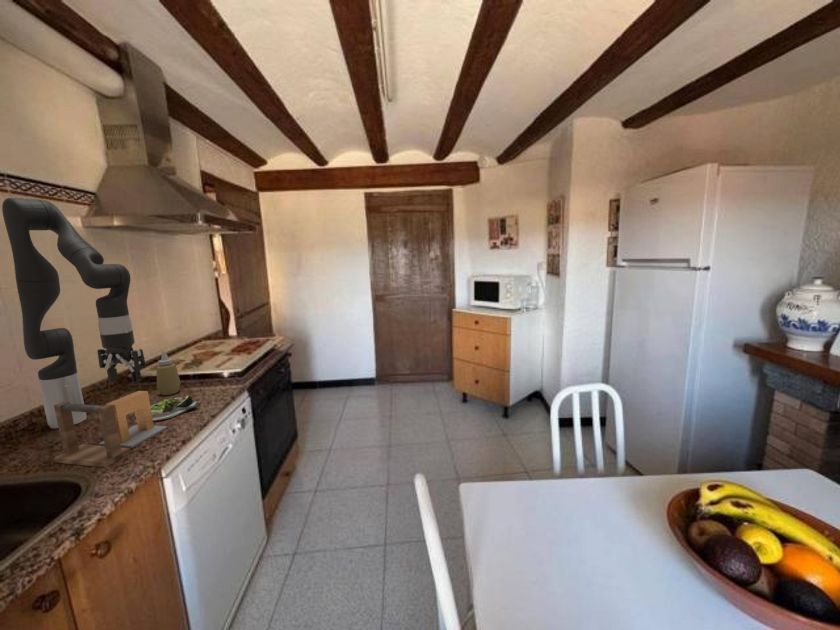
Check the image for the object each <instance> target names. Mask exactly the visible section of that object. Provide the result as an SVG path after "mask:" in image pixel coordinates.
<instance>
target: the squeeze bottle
mask: <svg viewBox="0 0 840 630" xmlns="http://www.w3.org/2000/svg"><path fill="white" fill-rule="evenodd" d="M160 358H161V359H160V360H158V361H157V362H158V365H157V367H156V370H155V371H156V388H157V389H158V391H159V393H160V395H162V396H170V395H173V394H174V395H175V394H176V393H177V394H178V393H179V391H180V386H181V380H180V375H179V372H178V369H177V365H176V363H173V359H172V358H169V357H168V354H167V352H166V351H162V352H161V357H160Z"/></svg>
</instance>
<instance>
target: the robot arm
mask: <svg viewBox="0 0 840 630" xmlns="http://www.w3.org/2000/svg"><path fill="white" fill-rule="evenodd" d="M1 207H2V208H1V211H2V217H3V222H4V225H5V229H6V233H7V236H8V240H9V244H10V247H11V253H12V258H13V265H14V275H15V282H16V283H15V284H16V289H17V293H18V298H19V299H18V300H19V304H20V308H21V315H22V333H23V335H22V336H23V345H24V350H25V351H24V352H25V353H26V355H27V357H28V358H29V359H31V360H43V359H48V358H54V357H58V358H57V359H56V360H55V361H53V362H52V363H51V364H48V365H47V366H44V367H43V368H41V369H39V370H38V372H37V377H38V381H39V384H40V389H41V394H42V398H43V399H42V404H43V409H44V414H45V417H46V422H47V426H48V427H49V428H50V429H59V427H58V423H57V418H56V413H55V409H54V405H56V404H59V403H62V402H69V403H70V404H82V405H85V403H84V397H83V392H82V387H81V383H80V378H79V374H78V369H77V359H76V354H75V347H74V346H75V345H74V339H73V336H72V333H71V332H70V330H69V329H67V328H65V327H58V328H50V329H43V330H41V326H42V323H43V319H44V317H45V315H46V314H47V313H48V311H49V310H50V308H51V307H53V305H54V303H55V302H56V301H57V300H58V298H59V296H60V294H61V283H60V276H59V272H58V270H57V269H56V267H55V266H53V264H52V263H51V262H50V261H48V259H47V258H45V257H44V256H43V255H42V254H41V253H40V252H39V250H38V249H37V248H36V247H35V245H34V242H33V240H32V238H31V232H30V231H51V232H54V233H55V234H56V235H58V236H57V243H56V247H57V250H58V252H59V253H60V254H61V256H62V257H63V258H64V259H66V261H68V262H69V263H70V264H71V265H72V266H74V267H75V269H76V270H77V272H78V275H79V277H80V278H81V280H82V283H83V284H84V285H86V286H87V287H88V288H91V289H95V290H103V289H109V292H108V293H107V295H104V296H100V297H99V298H97V299H96V300H95V308H96V312H97V317H98V318H97V319H98V321H97V323H98V324H97V325H98V331H99V337H100V341H101V347H102V348H99V349H97V357H98V358H97V359H98V366H99V368H100V369H104V370H105V371H106V373H107V379H108V381H109V382H116V381H118V380H119V375H118V369H117V368H116V367H117V366H118V364H120V365H123V366H124V367H126V368H128V370H130V377H131V383H132V384H137V383H140V382H141V381H142V375H141V370H142V369H144V368H146V367H147V364H146V360H145V356H144V350H143V349H142V348H139V349H136V350H135V349H134V348H133V345H134V344H135V336H134V329H133V324H132V320H131V318H130V313H129V308H128V305H129V304H128V297H129V291H130V290H129V289H130V284H131V274H130V271H129V270H128V268H127V267H126V266H125V265H123V264H120V263H104V261H105V258H104V256H103V255H102V254H101V253H100V252H99V251H98V250H97V249H95V247H93V246H92V245H91V244H90V243H88V241H86V240H85V239H84V238H83V236H81V235H80V234H79V233H78V231H77V230H76V228H74V226H73V225H72V224H71V222H70V220H68V218H67V217H66V216H65V215H64V214H63V212H62V211H61V210H60V208H58V206H57V205H56V204H54V203H52V201H48V200H45V199H37V198H35V199H34V198H24V197H23V198H22V197H21V198H20V197H7V198H5V199H3V202H2V205H1ZM71 412H72V417H73V422H74V426H75V425H77V424H80V423H82V422H84V421H85V420H86V419H87V418H88V417H87V412H74V411H71Z"/></svg>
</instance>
